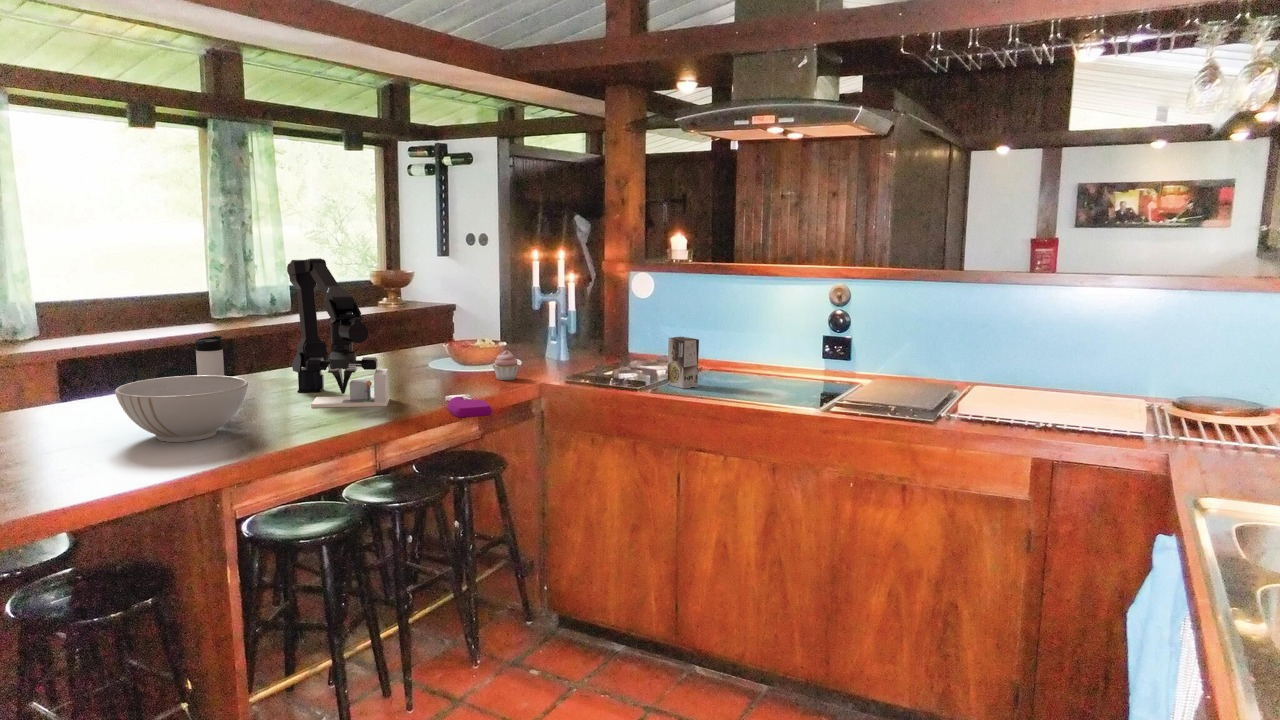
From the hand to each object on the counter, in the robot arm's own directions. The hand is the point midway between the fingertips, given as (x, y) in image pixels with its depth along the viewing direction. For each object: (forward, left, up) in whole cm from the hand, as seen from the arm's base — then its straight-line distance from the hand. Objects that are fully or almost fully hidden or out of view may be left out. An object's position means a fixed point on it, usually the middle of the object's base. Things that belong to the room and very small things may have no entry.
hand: (343, 393), depth 226 cm
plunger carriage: (+5, -2, -1) cm, 5 cm away
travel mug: (-32, -8, -3) cm, 33 cm away
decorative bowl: (-31, -34, -3) cm, 46 cm away
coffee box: (+105, +15, -3) cm, 106 cm away
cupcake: (+48, +33, -3) cm, 58 cm away
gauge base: (+3, -1, -3) cm, 4 cm away
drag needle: (+7, -4, -1) cm, 8 cm away
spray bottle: (+34, -11, -3) cm, 36 cm away
